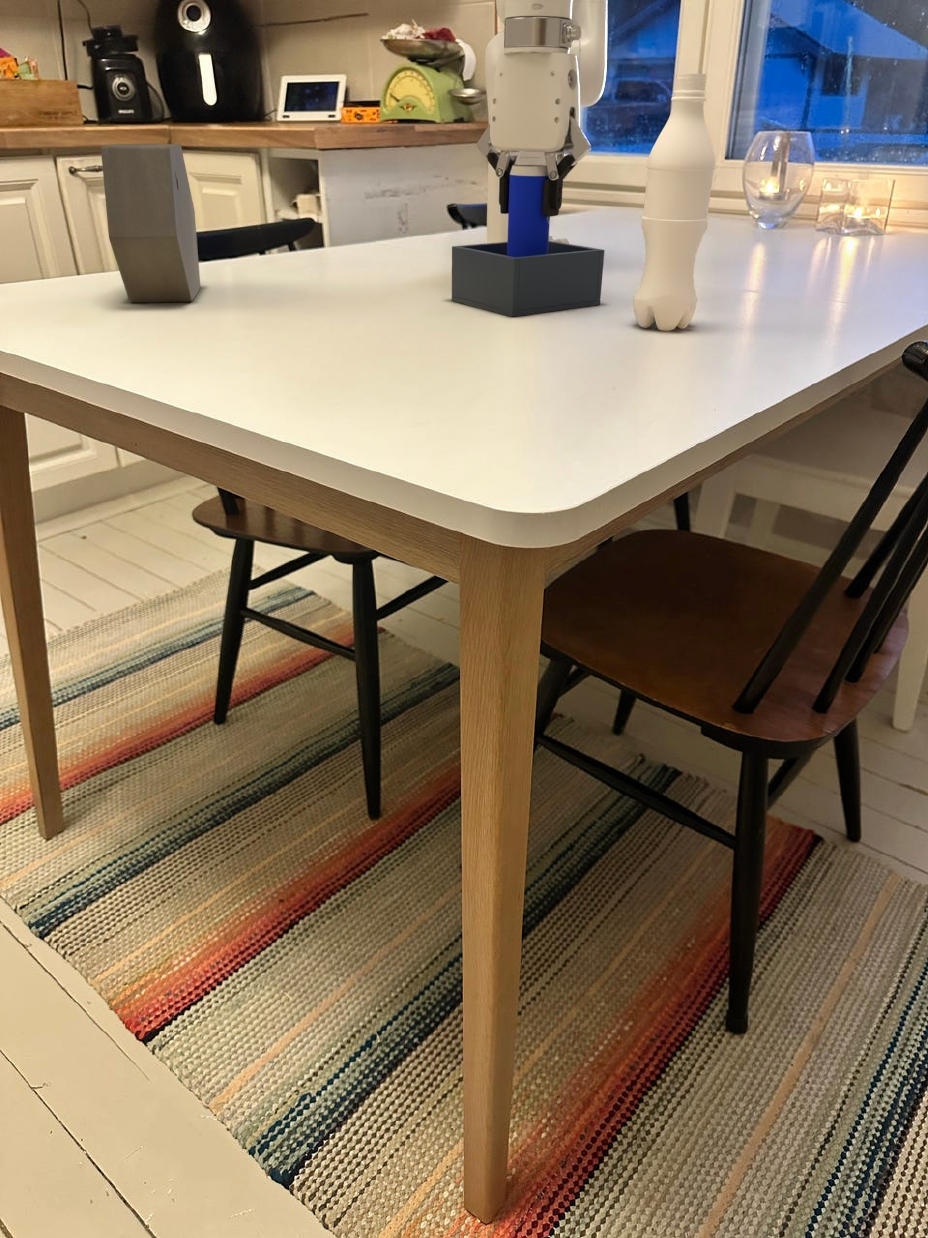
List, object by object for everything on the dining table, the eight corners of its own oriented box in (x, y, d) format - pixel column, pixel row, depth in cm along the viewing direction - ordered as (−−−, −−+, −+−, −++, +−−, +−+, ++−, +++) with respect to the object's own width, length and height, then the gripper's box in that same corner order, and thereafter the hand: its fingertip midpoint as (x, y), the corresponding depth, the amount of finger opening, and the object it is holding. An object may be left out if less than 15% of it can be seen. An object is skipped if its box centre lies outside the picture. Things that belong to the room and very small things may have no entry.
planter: (145, 244, 124) (105, 100, 106) (201, 243, 125) (172, 101, 107) (139, 334, 116) (95, 196, 98) (199, 333, 117) (167, 196, 99)
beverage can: (550, 298, 113) (558, 166, 105) (511, 299, 112) (516, 166, 104) (538, 291, 117) (545, 164, 110) (501, 292, 116) (505, 164, 109)
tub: (536, 290, 123) (539, 238, 120) (600, 304, 114) (604, 249, 111) (451, 300, 115) (451, 246, 112) (512, 316, 107) (514, 258, 103)
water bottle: (687, 320, 106) (719, 75, 94) (699, 333, 100) (735, 73, 87) (626, 319, 106) (651, 74, 94) (635, 332, 100) (662, 72, 88)
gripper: (619, 39, 100) (605, 216, 109) (488, 43, 107) (485, 208, 116) (592, 34, 94) (579, 221, 103) (455, 39, 102) (454, 212, 111)
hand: (529, 212), depth 110 cm, fingers closed on beverage can, 5 cm apart
